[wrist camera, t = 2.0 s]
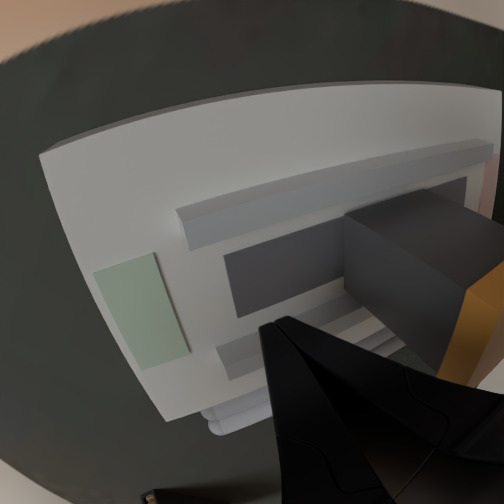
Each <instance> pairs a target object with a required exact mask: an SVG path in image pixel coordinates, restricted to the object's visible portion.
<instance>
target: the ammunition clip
mask: <svg viewBox="0 0 504 504" xmlns="http://www.w3.org/2000/svg"><path fill="white" fill-rule="evenodd" d="M140 497H141V500H142V503H143V504H229V503H228V502H220V501H213V500H207V499H201V498H195V497H190V496H184V495H179V494H175V493H170V492H165V491H161V490H157V489H154V490H152V491H150V492H148V493H146V494H143V495H141V496H140Z"/></svg>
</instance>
